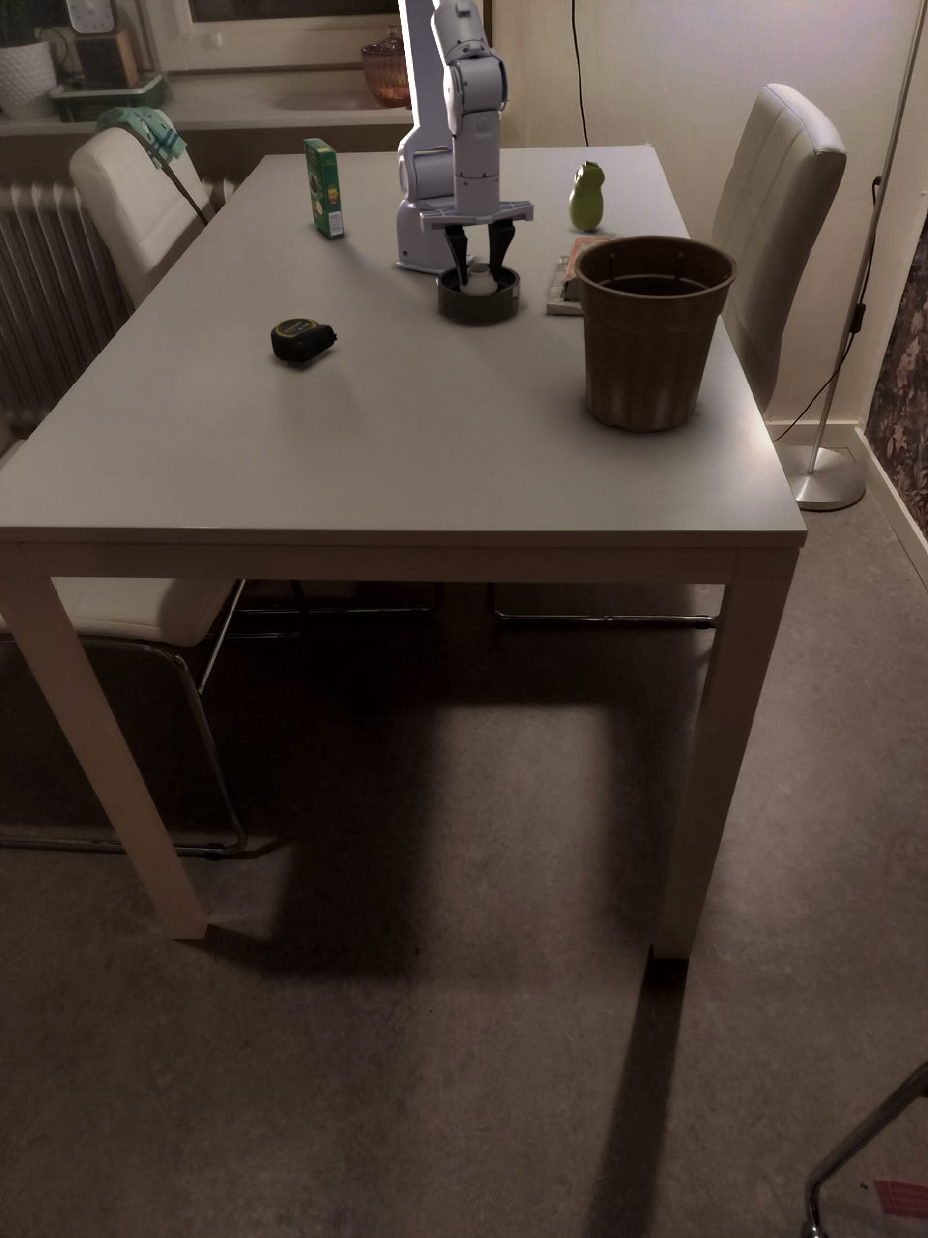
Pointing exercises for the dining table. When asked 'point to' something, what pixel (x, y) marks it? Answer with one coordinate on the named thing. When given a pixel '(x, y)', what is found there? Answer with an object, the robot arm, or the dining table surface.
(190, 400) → the dining table surface
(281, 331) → the tape measure
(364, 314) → the dining table surface
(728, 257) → the plant pot
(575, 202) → the pear
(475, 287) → the white jar
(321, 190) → the coffee box
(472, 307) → the bowl
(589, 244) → the packaged product
